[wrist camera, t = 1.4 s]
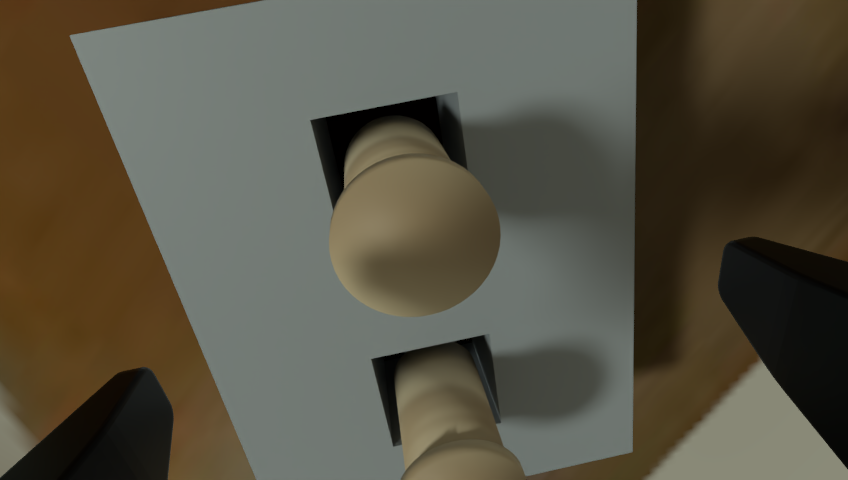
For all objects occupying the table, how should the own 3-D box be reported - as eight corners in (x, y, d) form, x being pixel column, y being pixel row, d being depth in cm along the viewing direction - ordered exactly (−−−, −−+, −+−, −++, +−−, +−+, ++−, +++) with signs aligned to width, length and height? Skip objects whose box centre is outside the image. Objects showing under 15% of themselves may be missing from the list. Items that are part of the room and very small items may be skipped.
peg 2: (488, 401, 21) (533, 531, 16) (395, 421, 21) (411, 560, 16) (477, 323, 19) (523, 440, 14) (376, 344, 19) (387, 471, 14)
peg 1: (461, 208, 17) (508, 298, 12) (348, 231, 17) (350, 331, 12) (444, 93, 16) (490, 144, 11) (321, 117, 16) (309, 180, 11)
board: (582, 371, 26) (632, 451, 21) (290, 435, 25) (278, 532, 21) (564, -54, 18) (637, -67, 14) (140, 22, 17) (69, 35, 13)
